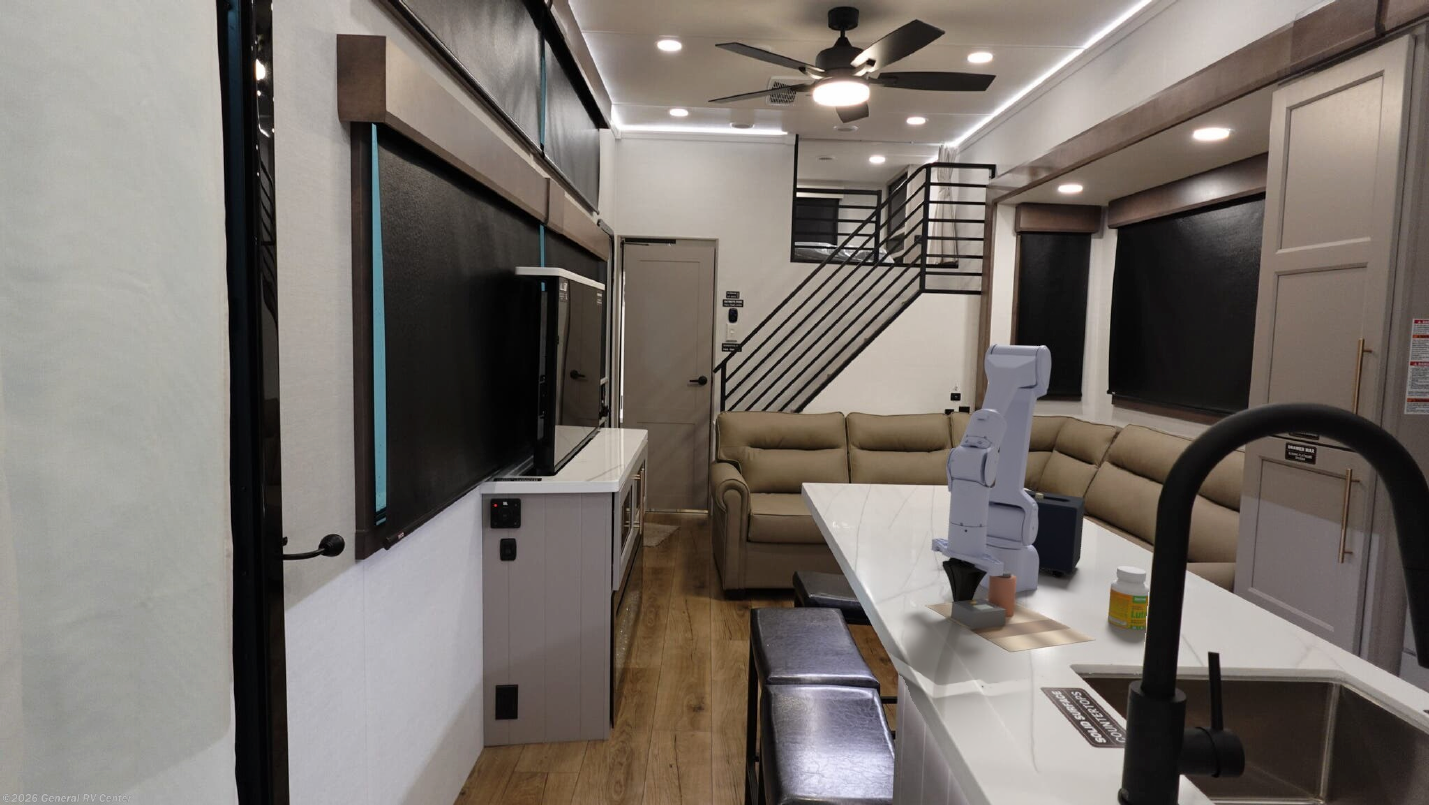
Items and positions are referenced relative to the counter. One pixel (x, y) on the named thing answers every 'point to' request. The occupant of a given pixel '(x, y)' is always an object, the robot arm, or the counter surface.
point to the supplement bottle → (1129, 598)
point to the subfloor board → (1022, 630)
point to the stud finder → (978, 613)
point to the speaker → (1057, 530)
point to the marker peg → (1003, 591)
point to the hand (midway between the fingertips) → (962, 607)
